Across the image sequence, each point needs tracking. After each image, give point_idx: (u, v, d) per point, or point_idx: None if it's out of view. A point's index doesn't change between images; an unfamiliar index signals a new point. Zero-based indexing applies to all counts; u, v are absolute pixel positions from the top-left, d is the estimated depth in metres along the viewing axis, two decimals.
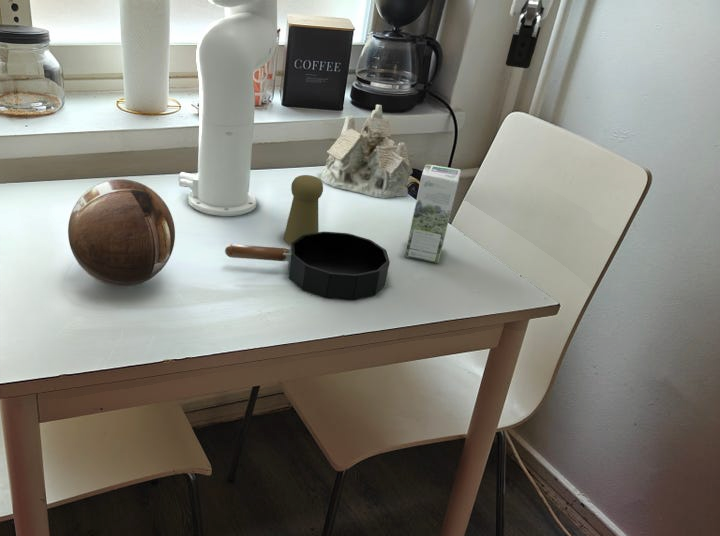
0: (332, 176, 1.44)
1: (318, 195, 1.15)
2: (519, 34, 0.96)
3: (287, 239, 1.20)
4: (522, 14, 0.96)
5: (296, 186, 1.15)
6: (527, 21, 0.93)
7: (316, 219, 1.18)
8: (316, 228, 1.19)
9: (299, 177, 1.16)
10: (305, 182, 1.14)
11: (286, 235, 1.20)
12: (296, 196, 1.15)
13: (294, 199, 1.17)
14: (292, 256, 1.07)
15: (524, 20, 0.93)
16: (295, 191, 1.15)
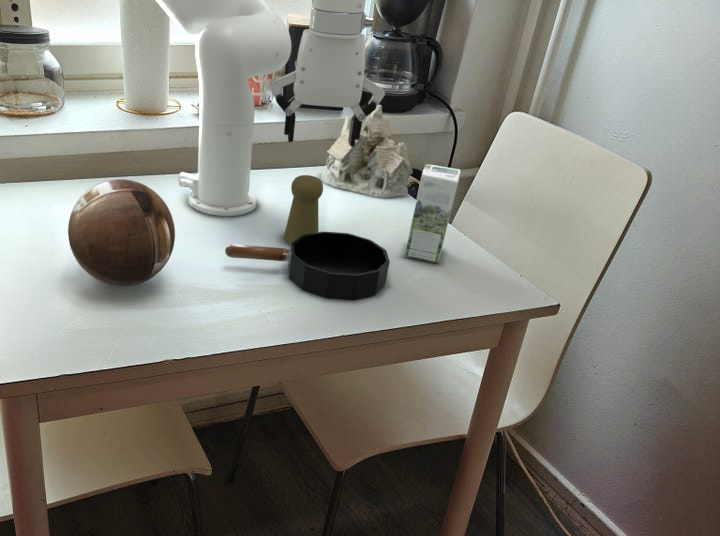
0: (332, 176, 1.44)
1: (318, 195, 1.15)
2: None
3: (287, 239, 1.20)
4: (294, 95, 1.09)
5: (296, 186, 1.15)
6: (275, 98, 1.09)
7: (316, 219, 1.18)
8: (316, 228, 1.19)
9: (299, 177, 1.16)
10: (305, 182, 1.14)
11: (286, 235, 1.20)
12: (296, 196, 1.15)
13: (294, 199, 1.17)
14: (292, 256, 1.07)
15: None
16: (295, 191, 1.15)
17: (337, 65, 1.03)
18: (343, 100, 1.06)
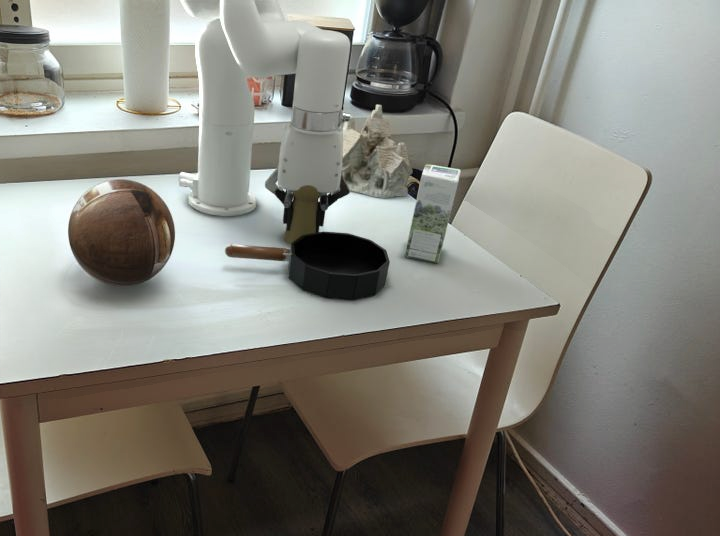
0: None
1: (318, 195, 1.15)
2: None
3: (287, 239, 1.20)
4: None
5: None
6: None
7: None
8: None
9: None
10: None
11: (286, 235, 1.20)
12: (296, 196, 1.15)
13: (294, 199, 1.17)
14: (292, 256, 1.07)
15: None
16: (295, 191, 1.15)
17: (317, 157, 1.11)
18: (323, 187, 1.14)
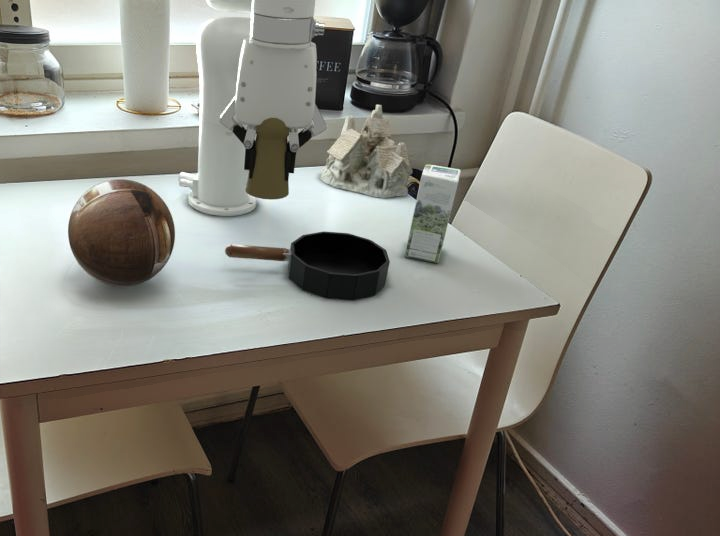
0: (332, 176, 1.44)
1: (286, 131, 0.92)
2: None
3: (249, 189, 0.96)
4: None
5: None
6: None
7: None
8: None
9: None
10: None
11: (248, 184, 0.96)
12: (259, 133, 0.92)
13: (257, 137, 0.93)
14: (292, 256, 1.07)
15: None
16: (257, 126, 0.92)
17: (283, 80, 0.88)
18: (292, 120, 0.91)
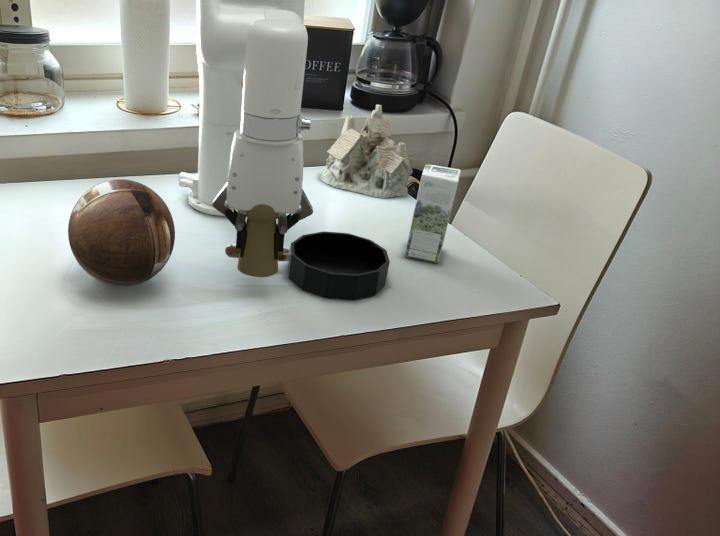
0: (332, 176, 1.44)
1: (275, 216, 0.97)
2: None
3: (241, 267, 1.02)
4: None
5: None
6: None
7: None
8: None
9: None
10: None
11: (239, 262, 1.02)
12: (249, 217, 0.97)
13: (247, 220, 0.99)
14: (292, 256, 1.07)
15: None
16: (248, 211, 0.97)
17: (271, 171, 0.93)
18: (280, 206, 0.96)
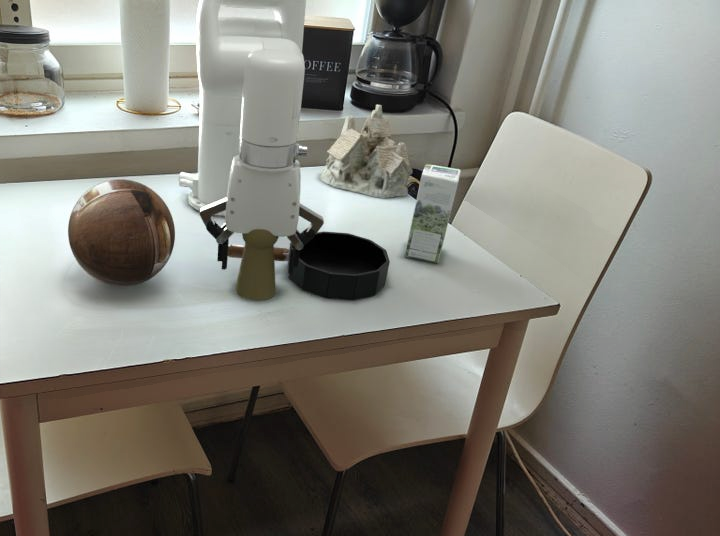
0: (332, 176, 1.44)
1: (273, 242, 0.99)
2: None
3: (239, 290, 1.04)
4: None
5: None
6: None
7: (271, 268, 1.02)
8: (272, 278, 1.03)
9: None
10: None
11: (238, 285, 1.04)
12: (247, 243, 1.00)
13: (245, 246, 1.01)
14: None
15: None
16: (246, 237, 0.99)
17: (269, 196, 0.95)
18: (278, 230, 0.98)
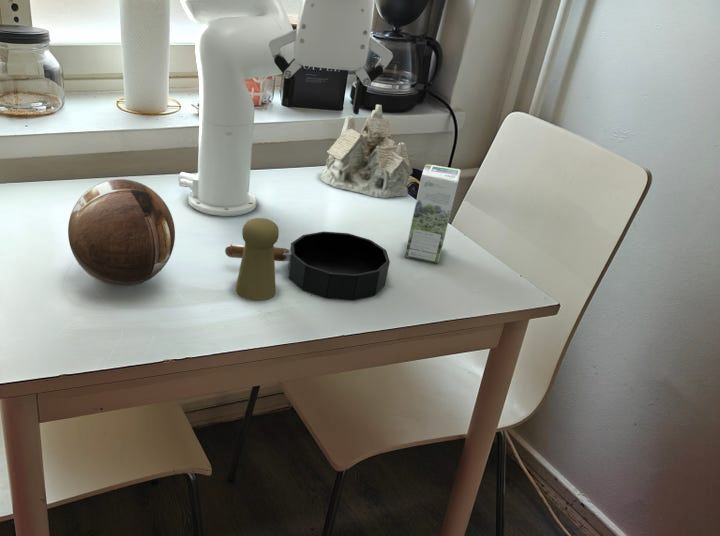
0: (332, 176, 1.44)
1: (273, 242, 0.99)
2: None
3: (239, 290, 1.04)
4: None
5: (247, 231, 0.99)
6: (274, 58, 1.01)
7: (271, 268, 1.02)
8: (272, 278, 1.03)
9: (251, 221, 1.00)
10: (257, 227, 0.98)
11: (238, 285, 1.04)
12: (247, 243, 1.00)
13: (245, 246, 1.01)
14: (292, 256, 1.07)
15: None
16: (246, 237, 0.99)
17: (340, 23, 0.95)
18: (347, 62, 0.98)
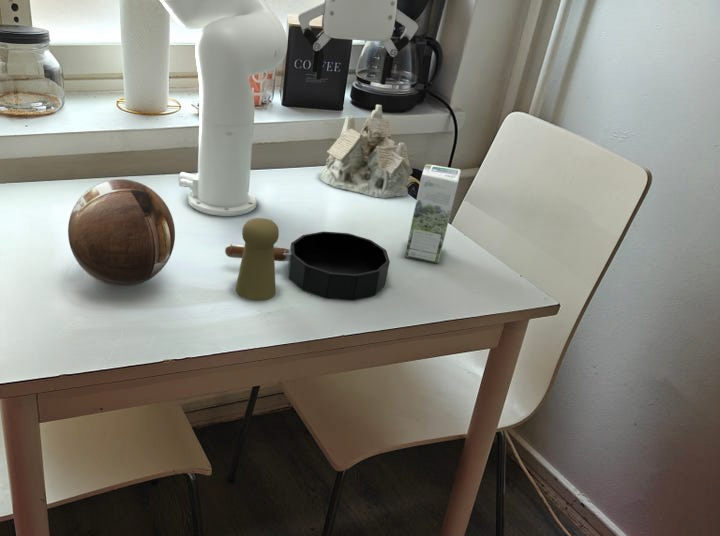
0: (332, 176, 1.44)
1: (273, 242, 0.99)
2: None
3: (239, 290, 1.04)
4: (323, 29, 1.04)
5: (247, 231, 0.99)
6: (303, 32, 1.04)
7: (271, 268, 1.02)
8: (272, 278, 1.03)
9: (251, 221, 1.00)
10: (257, 227, 0.98)
11: (238, 285, 1.04)
12: (247, 243, 1.00)
13: (245, 246, 1.01)
14: (292, 256, 1.07)
15: None
16: (246, 237, 0.99)
17: None
18: (375, 33, 1.01)
